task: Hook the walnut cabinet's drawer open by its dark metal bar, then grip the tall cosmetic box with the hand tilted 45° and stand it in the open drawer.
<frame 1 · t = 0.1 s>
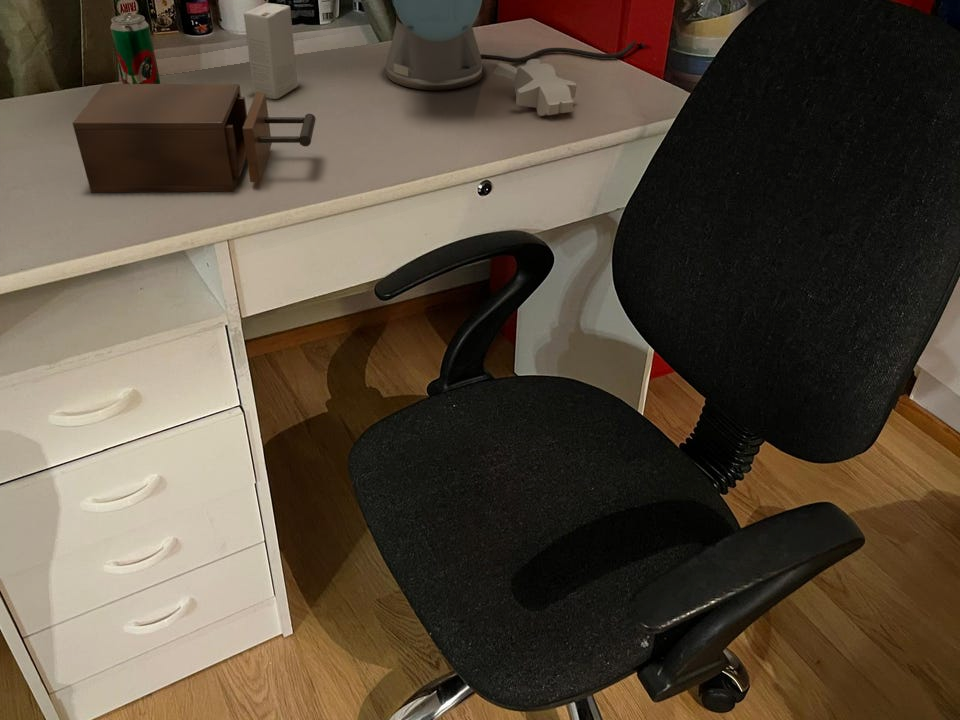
drawer: (224, 136, 106), point 4 cm above the table, slide at 2.0 cm
cabinet: (173, 169, 108), on the table
white blocky figurine: (536, 103, 130), on the table
cosmetic box: (276, 93, 130), on the table
soda can: (146, 105, 125), on the table
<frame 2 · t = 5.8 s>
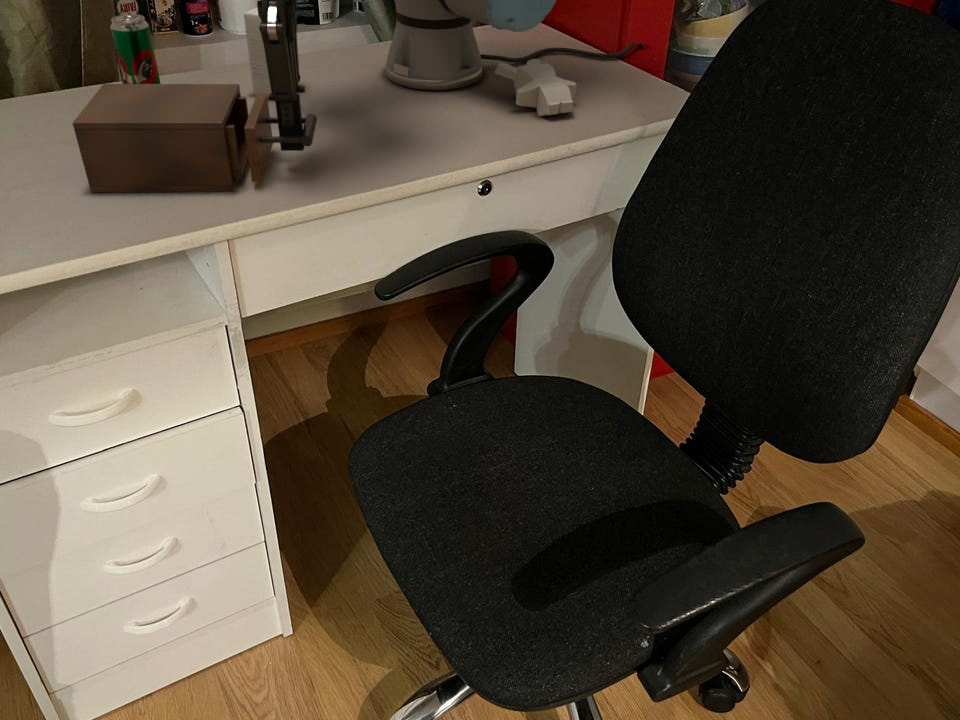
hand: (292, 148, 107), 3 cm above the table, tool pointing down, fingers closed
drawer: (225, 136, 106), point 4 cm above the table, slide at 2.2 cm, touching gripper
everything else where it was.
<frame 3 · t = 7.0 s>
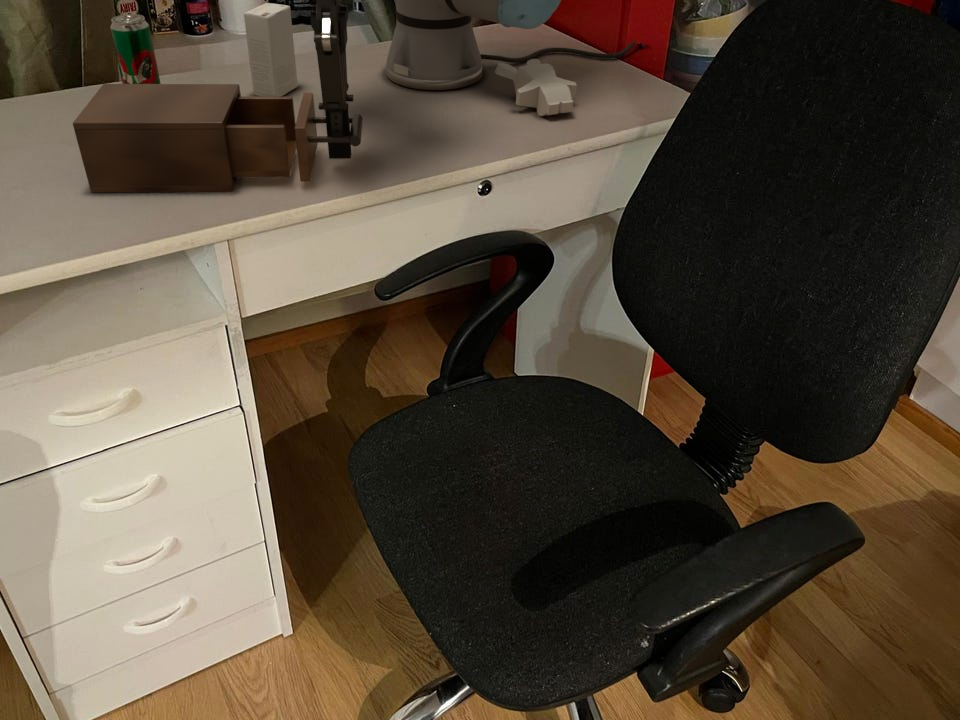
hand: (340, 156, 108), 2 cm above the table, tool pointing down, fingers closed
drawer: (273, 136, 106), point 4 cm above the table, slide at 8.0 cm, touching gripper
everything else where it was.
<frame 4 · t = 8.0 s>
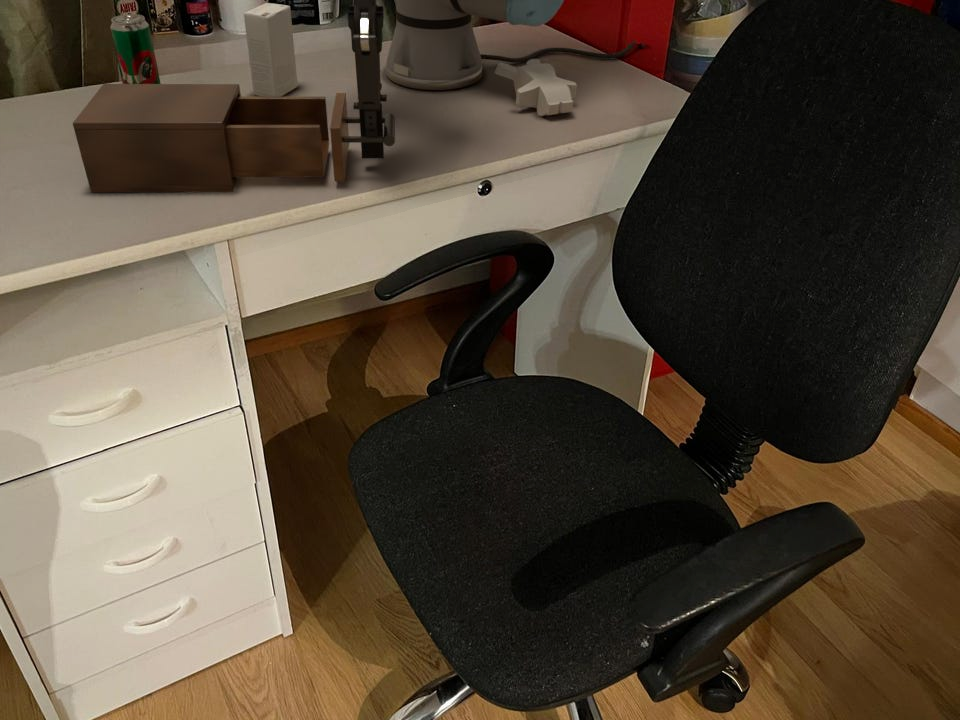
hand: (373, 155, 108), 2 cm above the table, tool pointing down, fingers closed
drawer: (307, 136, 106), point 4 cm above the table, slide at 12.0 cm, touching gripper
everything else where it was.
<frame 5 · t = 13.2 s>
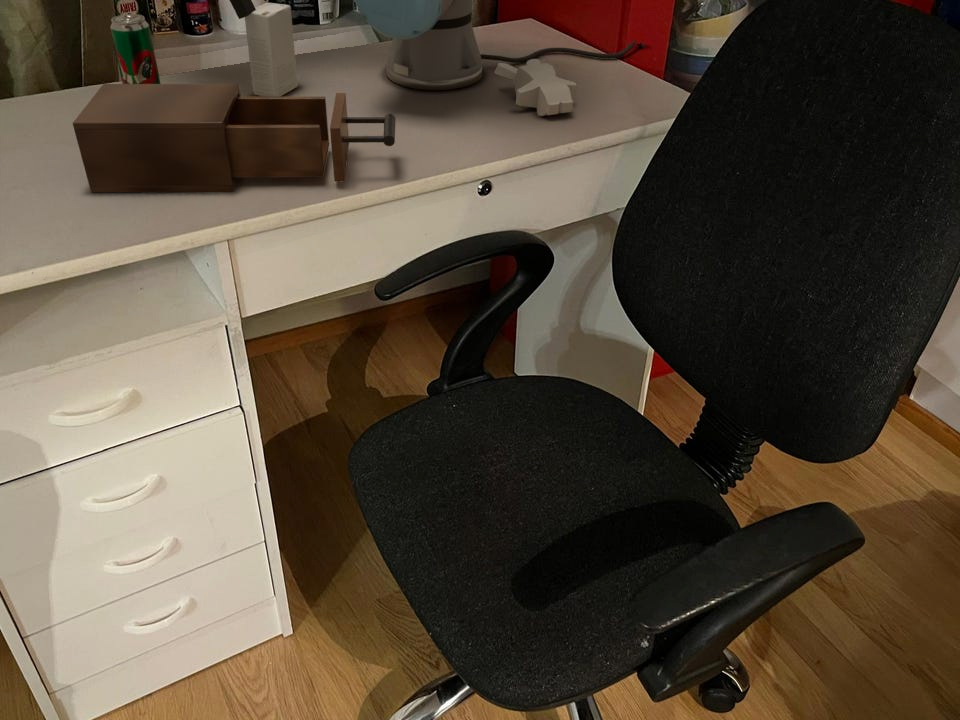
hand: (247, 14, 119), 12 cm above the table, tool tilted 30°, fingers closed
drawer: (307, 136, 106), point 4 cm above the table, slide at 12.0 cm
cosmetic box: (276, 93, 130), on the table, touching gripper
everything else where it was.
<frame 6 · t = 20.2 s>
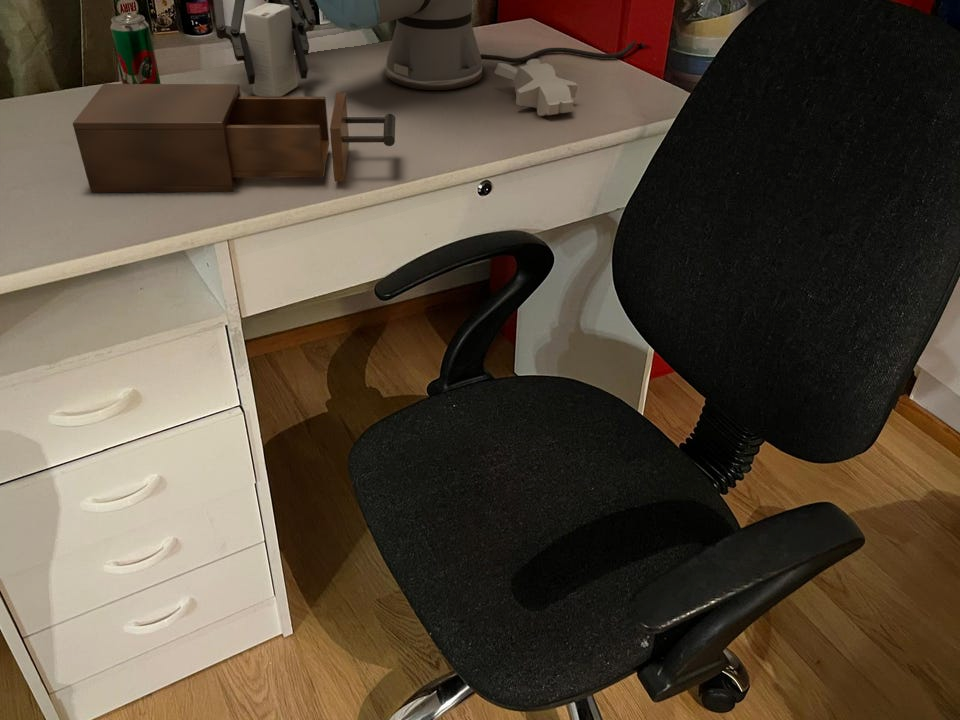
hand: (278, 76, 125), 3 cm above the table, tool tilted 45°, fingers closed on cosmetic box, 7 cm apart
cosmetic box: (276, 93, 130), on the table, touching gripper
everything else where it was.
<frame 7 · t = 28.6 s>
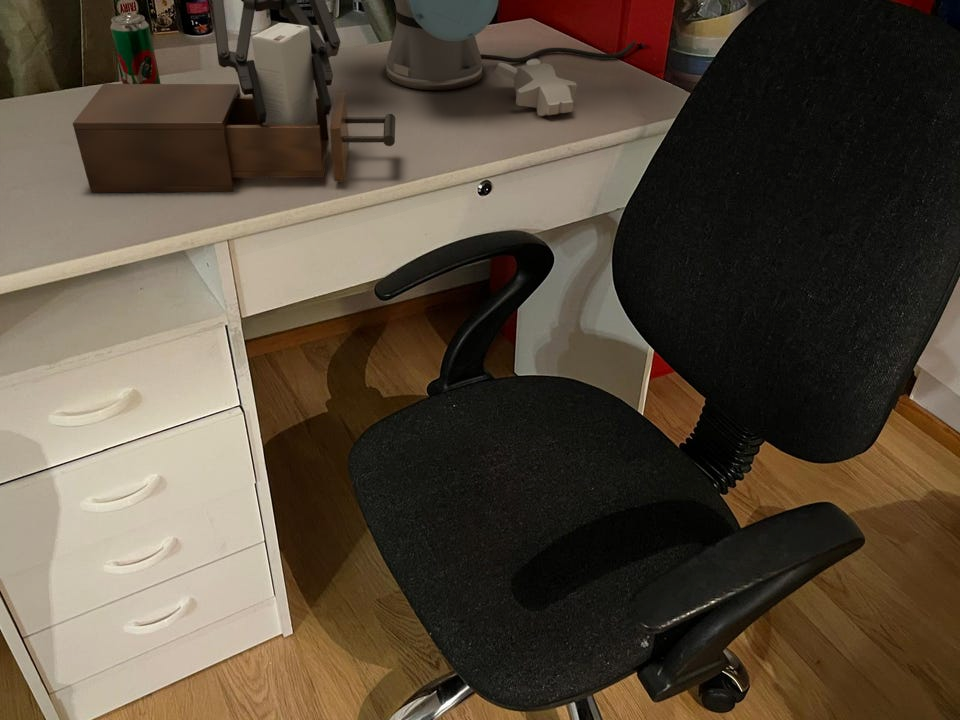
hand: (295, 113, 101), 8 cm above the table, tool tilted 45°, fingers closed on cosmetic box, 7 cm apart
cosmetic box: (292, 132, 106), point 5 cm above the table, touching gripper
everything else where it was.
when the fingers open (9 cm above the table, at t = 32.1 s): cosmetic box drops 3 cm, resting on drawer.
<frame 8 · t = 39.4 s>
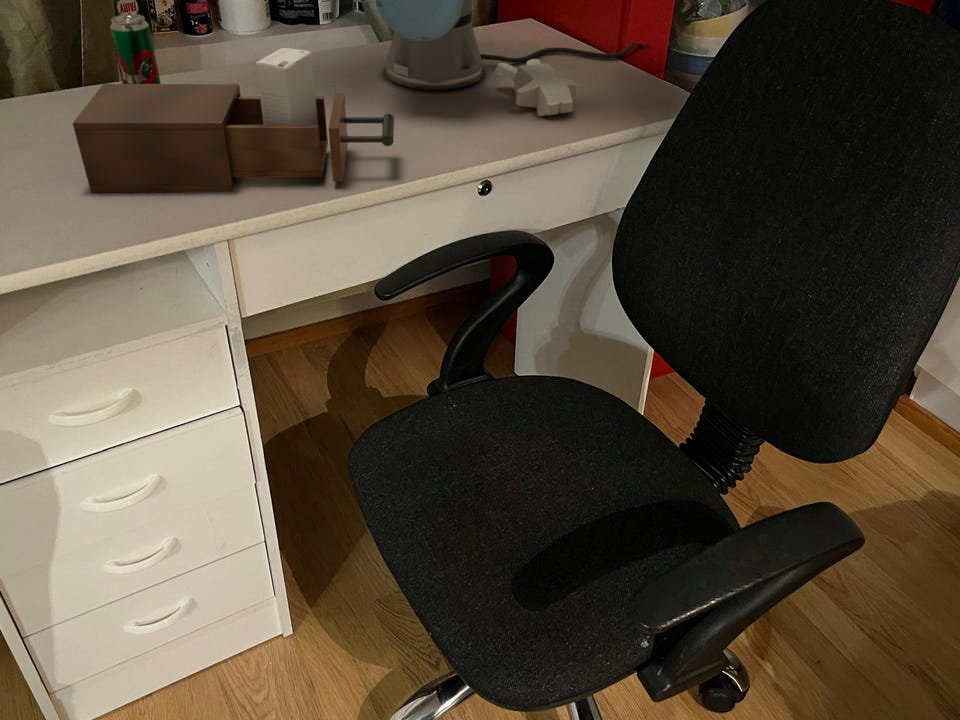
drawer: (305, 136, 106), point 4 cm above the table, slide at 11.8 cm, touching cosmetic box
cosmetic box: (294, 154, 108), point 2 cm above the table, touching drawer
everything else where it was.
at the end: drawer slide at 11.8 cm; cosmetic box inside the target area in the drawer (0.9 cm from its centre), point 1.8 cm above the cabinet's base; the gripper is holding nothing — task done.
